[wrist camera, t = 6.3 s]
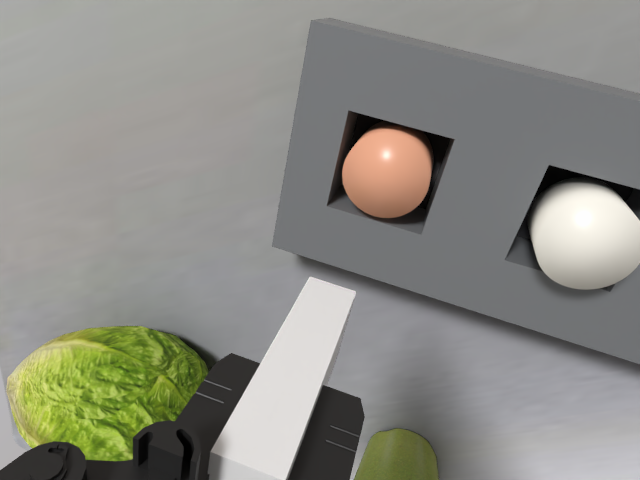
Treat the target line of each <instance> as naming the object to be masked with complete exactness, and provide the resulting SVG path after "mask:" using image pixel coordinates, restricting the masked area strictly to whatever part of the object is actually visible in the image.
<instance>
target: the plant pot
mask: <svg viewBox="0 0 640 480" xmlns="http://www.w3.org/2000/svg"><path fill="white" fill-rule="evenodd" d="M354 480H439V477H438V467H437V459H436V455H435V453H434V451H433V449H432V448H431V446H430V444H429V442H428V441H427V440H426V439H424V438H423V437H421V436H420V435H418V434H416V433H414V432H411V431H408V430H405V429H398V428H396V429H393V430H390V431H385V432H382V431H379V432H377V433H376V434H374V435H373V436H372V437H371V439H370V440H369V443H368V445H367V448H366V450H365V453H364V455H363V458H362V460H361V463H360V466H359V468H358V471H357V473H356V476H355V478H354Z"/></svg>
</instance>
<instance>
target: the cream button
mask: <svg viewBox="0 0 640 480" xmlns="http://www.w3.org/2000/svg"><path fill="white" fill-rule="evenodd" d="M527 224H528V230H529V233H530V237H531V240H532V244H533V247H534V251H535V254H536V258H537V261H538V263H539V266H540V267H541V269H542V270H543V272H544V273H545V274H546V275H547V276H548V277H549V278H550V279H552V280H553V281H555V282H557V283H559V284H561V285H563V286H566V287H570V288H574V289H584V290H589V289H598V288H603V287H607V286H610V285H612V284H615V283H617V282H619V281H621V280H622V279H624V278H625V277H627V276H628V275H629V274H631V273H632V272H633V271H634V270H635V269H636V268H637V266H638V265H639V264H640V220H639V219H638V218H637V217H636V215H635V214H634V213H633V212H632V210H631V209H630V208H629V207H628V206H627V204H626V203H625V202H624V201H623V199H622V198H621V197H620V196H619V194H618V193H617V192H616V191H615V190H614V189H613V188H612V187H611V186H609V185H608V184H606V183H604V182H602V181H599V180H596V179H592V178H585V177H576V178H569V179H565V180H562V181H559V182H556V183H554V184H552V185H550V186H549V187H547V188H546V189H545V190H543V191H542V192H541V193H540V194H539V195H538V196H537V197H536V199H535V200H534V201H533V203H532V205H531V207H530V210H529V213H528V219H527Z"/></svg>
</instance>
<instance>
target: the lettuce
mask: <svg viewBox="0 0 640 480" xmlns="http://www.w3.org/2000/svg"><path fill="white" fill-rule="evenodd" d="M208 373H209V371H208V368H207V366H206V364H205V362H204V361H203V360H202V359H201V357H200V356H199V355H198V354H197V353H196V352H195V351H194V350H193V349H191V348H190V347H189V346H188V345H187V344H185V343H184V342H183V341H182V340H180V339H179V338H178V337H177V336H176V335H172V334H168V333H164V332H160V331H156V330H152V329H149V328H145V327H142V326H115V327H100V328H89V329H85V330H81V331H77V332H72V333H68V334H64V335H62V336H60V337H57V338H55V339H53V340H50V341H49V342H47V343H45V344H44V345H42V346H41V347H39V348H38V349H36V350H35V351H34V352H33V353H31V354H30V355H29V356H28V357H27V358H26V359H24V360H23V361H22V362H21V363H20V364H19V365H18V366H17V367H16V369H15V370H14V372H13V373H12V374H11V375H10V376H9V377H8V381H7V391H6V392H7V395H8V398H9V401H10V405H11V409H12V413H13V416H14V420H15V423H16V425H17V428H18V431H19V433H20V435H21V436H22V437H23V438H24V440H25V441H26V442H27V443H28V445H29V446H30V447H31V448H34V447H36V446H38V445H41V444H45V443H49V442H53V441H57V442H69V443H71V444H73V445H75V446H77V447H79V448H80V450H81V451H82V452H83V454H84V455H85V459H86V460H102V461H127V460H131V459H133V437H134V436H135V435H136V434H137V433H138V432H139V431H140V430H142V429H143V428H144V427H146V426H149V425H151V424H153V423H155V422H161V421H168V420H171V421H176V419H177V418H178V416H179V415H180V413H181V412H182V410H183V409H184V408H185V406H186V405H187V403H188V402H189V400H190V399H191V397H192V396H193V395H194V394H195V393H196V390H197V389H198V387H199V386H200V384H201V383H202V382H203V381H204V379H205V377H206V376H207V374H208Z"/></svg>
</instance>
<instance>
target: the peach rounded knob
mask: <svg viewBox="0 0 640 480" xmlns="http://www.w3.org/2000/svg"><path fill="white" fill-rule="evenodd" d="M433 162H434V154H433V149H432V146H431V143H430V141H429V139H428V138H427V136H426V135H425V134H424V132H423V131H422V130H419V129H415V128H411V127H408V126H404V125H400V124H397V123H393V122H389V121H382V122H379V123H377V124H375V125H373V126H371V127H370V128H369V129H368V130H366V131H365V133H364V134H363V135H362V136H361V137H360V139H359V140H358V141H357V143H356V144H355V145H354V147H353V148H352V149H351V150H350V152H349V153H348V155H347V157H346V159H345V162H344V165H343V170H342V179H343V185H344V188H345V191H346V193H347V195H348V197H349V198H350V200H351V201H352V202H353V203H354V204H355V205H356V206H357V207H358V208H359V209H361V210H362V211H364V212H365V213H367V214H369V215H372V216H375V217H380V218H395V217H399V216H402V215H405V214H407V213H409V212H411V211H412V210H414V209H415V208H416V207H417V206H418V205H419V204H420V203H421V202H422V201H423V199H424V197H425V196H426V194H427V191H428V188H429V184H430V179H431V173H432V168H433Z"/></svg>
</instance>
